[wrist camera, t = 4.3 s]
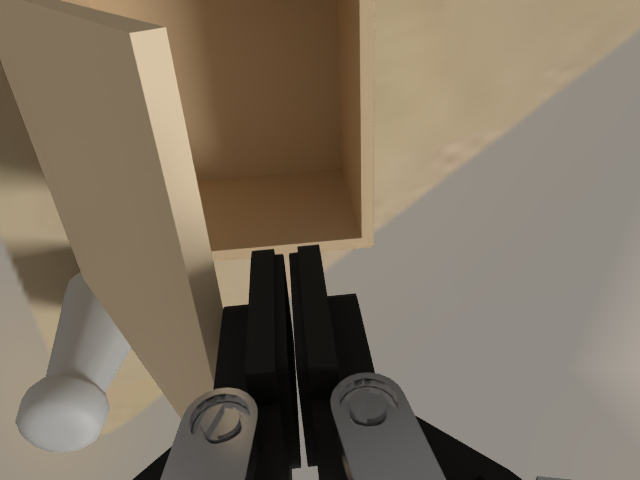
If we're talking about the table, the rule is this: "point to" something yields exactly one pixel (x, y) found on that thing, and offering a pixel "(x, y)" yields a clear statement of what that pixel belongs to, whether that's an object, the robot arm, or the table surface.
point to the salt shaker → (74, 376)
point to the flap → (121, 178)
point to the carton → (274, 117)
